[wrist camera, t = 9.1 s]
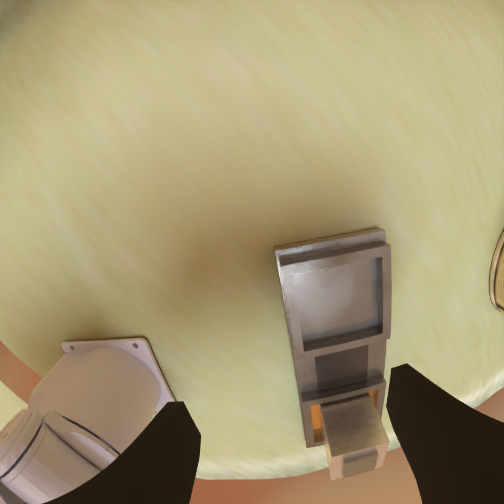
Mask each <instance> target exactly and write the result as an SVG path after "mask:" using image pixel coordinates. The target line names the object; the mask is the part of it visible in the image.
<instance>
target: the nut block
mask: <svg viewBox="0 0 504 504" xmlns="http://www.w3.org/2000/svg"><path fill="white" fill-rule="evenodd" d="M319 408H320V421H321V430H322V435H323V439H324V445H325V450H326V455H327V460H328V465H329V470H330V476H331V480H335V479H339V478H345V477H349V476H353V475H356V474H360V473H364V472H368V471H371V470H374V469H376V468H380V467H382V465H383V462H384V459H385V455H386V452H387V449H388V445H389V439H388V436H387V434H386V432H385V429H384V427H383V424H382V422H381V419H380V417H379V415H378V412H377V410H376V407H375V405H374V403H373V400H372V398H371V396H370V393H369V392H368V393H364V394H360V395H356V396H353V397H349V398H344V399H340V400H336V401H331V402H327V403H322V404H319Z"/></svg>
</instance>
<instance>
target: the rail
mask: <svg viewBox="0 0 504 504" xmlns="http://www.w3.org/2000/svg"><path fill="white" fill-rule="evenodd" d="M274 249H275V255H276V260H277V266H278V271H279V277H280V283H281V288H282V294H283V300H284V305H285V311H286V317H287V323H288V329H289V335H290V341H291V347H292V353H293V359H294V366H295V372H296V378H297V385H298V391H299V398H300V405H301V412H302V418H303V425H304V432H305V439H306V447H307V448H310V447H315V446H320V445H324V439H323V435H322V430H321V421H320V408H319V404H322V403H327V402H331V401H336V400H340V399H344V398H349V397H353V396H356V395H360V394H364V393H368V392H369V393H370V396H371V398H372V400H373V403H374V405H375V407H376V410H377V412H378V415H379V417H380V419H381V416H382V410H383V403H384V396H385V389H386V381H385V379H384V367H385V355H386V339H390V331H391V252H390V245H389V244H388V243H386V239H385V230H383V229H381V228H379V227H378V228H373V229H367V230H362V231H356V232H351V233H346V234H340V235H335V236H329V237H324V238H319V239H313V240H308V241H302V242H297V243H292V244H286V245H281V246H275V247H274Z"/></svg>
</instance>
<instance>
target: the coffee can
mask: <svg viewBox="0 0 504 504" xmlns="http://www.w3.org/2000/svg"><path fill="white" fill-rule="evenodd" d="M489 284H490V297H491V301H492V304H493V306H494V307H495V309H496V310H498V311H500V312H502V313H503V314H504V231H503V233H502V235H501V236H500V239H499V241H498V245H497V247H496V249H495V253H494V256H493V261H492V265H491V271H490V280H489Z"/></svg>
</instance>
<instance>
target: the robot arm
mask: <svg viewBox="0 0 504 504" xmlns="http://www.w3.org/2000/svg"><path fill="white" fill-rule="evenodd" d="M135 343H136V344H138V346H137V345H135ZM61 346H62V349H63V351H64V353H65V354H64V355H63V356H62V357H61V358H60V359H59V360H58V361H57V363H56V364H55V365H54V366H53V367H52V368H51V369H50V370H49V371H48V373H47V374H46V375H45V376H44V377H43V378H42V379H41V380H40V382H39V383H38V384H37V385H36V386H35V388H34V389H33V390H32V393H31V395H30V398H29V405H28V409H23V410H21V411H20V412H19V413H17V414H16V415H15V416H14V417H13V418H12V419H11V420H10V421H9V422H8V423H7V424H6V426H5V427H4V428H3V429H2V430H1V431H0V504H189V502H190V498H191V494H192V489H193V485H194V480H195V476H196V472H197V467H198V462H199V457H200V444H201V434H200V432H199V430H198V429H197V427H196V425H195V423H194V421H193V419H192V417H191V416H190V414H189V412H188V410H187V408H186V406H185V404H184V402H183V401H182V402H175V400H174V398H173V396H172V394H171V392H170V390H169V388H168V386H167V384H166V381H165V379H164V377H163V375H162V373H161V371H160V369H159V367H158V364H157V362H156V360H155V358H154V355H153V353H152V351H151V349H150V346H149V344H148V342H147V340H145V339H144V338H129V339H114V340H95V341H65V342H63V343H62V344H61ZM386 408H387V411H388V414H389V417H390V420H391V423H392V427H393V429H394V432H395V434H396V436H397V438H398V440H399V443H400V445H401V447H402V449H403V451H404V453H405V456H406V458H407V460H408V462H409V464H410V466H411V469H412V471H413V473H414V476H415V478H416V481H417V485H418V488H419V492H420V496H421V499H422V504H504V423H503V422H501V421H498V420H496V419H493V418H491V417H489V416H487V415H485V414H482V413H480V412H478V411H477V410H475V409H473V408H471V407H469V406H468V405H466V404H464V403H463V402H461V401H459V400H458V399H456V398H455V397H453V396H452V395H450V394H449V393H447V392H446V391H444V390H443V389H441V388H440V387H438V386H437V385H436V384H434V383H433V382H432V381H430V380H429V379H427V378H426V377H425V376H423V375H422V374H421V373H419V372H418V371H417V370H415V369H414V368H413V367H411V366H410V365H409V364H407V363H406V364H403V365H400V366H397V367H394V368H391V375H390V383H389V391H388V398H387V404H386ZM154 412H159V413H158V414H157V415H156V416H155V417H154V418H153V420H152V417H153V414H154ZM151 420H152V421H151Z"/></svg>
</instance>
